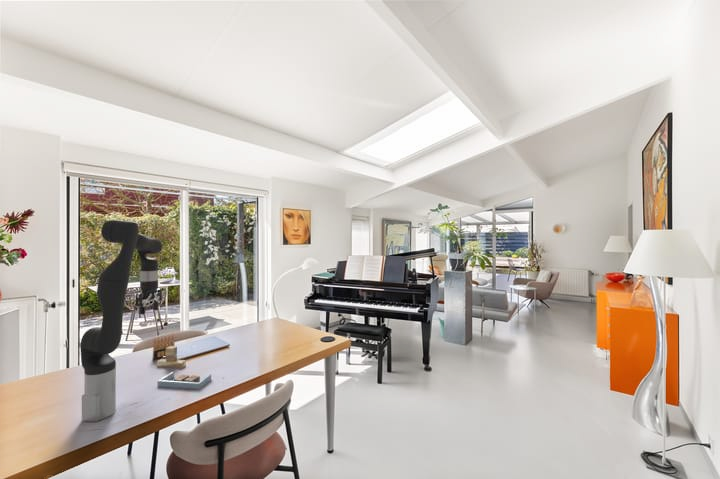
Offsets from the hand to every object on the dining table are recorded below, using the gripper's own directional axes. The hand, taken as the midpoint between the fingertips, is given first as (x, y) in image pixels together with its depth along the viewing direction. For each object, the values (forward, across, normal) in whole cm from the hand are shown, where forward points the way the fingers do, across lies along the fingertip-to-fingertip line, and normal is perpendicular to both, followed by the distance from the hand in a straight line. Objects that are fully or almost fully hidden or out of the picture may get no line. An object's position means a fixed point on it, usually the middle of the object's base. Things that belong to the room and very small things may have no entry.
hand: (149, 312), depth 156 cm
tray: (+30, -8, -25) cm, 40 cm away
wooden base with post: (+30, +8, -6) cm, 32 cm away
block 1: (+30, -8, -23) cm, 39 cm away
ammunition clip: (+30, +18, +6) cm, 36 cm away
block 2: (+30, -8, -28) cm, 42 cm away
